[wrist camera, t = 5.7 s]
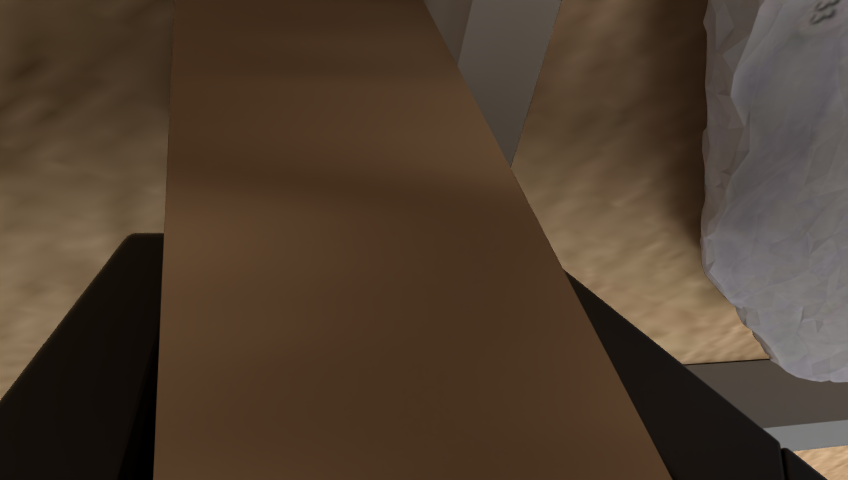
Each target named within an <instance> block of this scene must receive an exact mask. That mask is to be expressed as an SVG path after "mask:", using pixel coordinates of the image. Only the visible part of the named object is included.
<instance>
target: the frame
mask: <svg viewBox="0 0 848 480" xmlns="http://www.w3.org/2000/svg"><path fill="white" fill-rule="evenodd" d="M685 367H686V368H688V369H689V370H690V371H691V372H693V373H694V374H695V375H696V376H698V377H699V378H700V379H701V380H703V381H704V382H705V383H706V384H708V385H709V386H710V387H712V388H713V389H714V390H715V391H717V392H718V393H719V394H720V395H722V396H723V397H724V398H725V399H727V400H728V401H729V402H730V403H732V404H733V405H734V406H735V407H737V408H738V409H739V410H740V411H742V412H743V413H744V414H745V415H747V416H748V417H749V418H750V419H752V420H753V421H754V422H755V423H757V424H758V425H759V426H760V427H762V428H763V429H764V430H765V431H767V432H768V433H769V434H770V435H772V436H773V437H774V438H775V439H777V440H778V441H779V442H780V445H781V448H788V449H790V450H791V451H800V450H809V449H818V448H827V447H836V446H845V445H848V382H832V381H830V380H828V381H823V382H819V381H812V380H807V379H803V378H798V377H796V376H794V375H792V374H790V373H788V372H786V371H785V370H784V369H783V368H782V367H780V366H779V365H778V364H776V363H774V362H773V361H772V362H771V360H760V361H745V362H731V363H716V364H701V365H687V366H685Z"/></svg>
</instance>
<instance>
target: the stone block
mask: <svg viewBox="0 0 848 480" xmlns="http://www.w3.org/2000/svg"><path fill="white" fill-rule="evenodd" d="M703 24H704V27H705V29H706V31H707V66H706V76H705V91H706V99H707V127H706V128H705V130H704V131H703V137H702V145H703V147H702V153H703V159H704V164H705V175H704V187H705V197H706V198H705V204H704V207H703V210H702V216H701V239H700V245H701V262H702V266H703V269H704V273H705V274H706V276H707V277H708V278H709V279H710V280H711V282H712V283H713V284H714V285H715V286H716V287H717V289H718V290H719V291H720V292H721V293H722V294H723V295H724V296H725V297H726V298H727V299H728V301H729V302H730V303H731V304H732V305H734V306H735V308H736V311H737V314H738V316H739V317H740V319H741V321H742V323H743V324H744V325H745V326H746V327H748V328H749V329H751V330H752V332H753V336H754V337H755V338H756V340H757V341H758V342H760V344H761V346H762V348H763V349H764V351H765V353H766V354H767V355H769V358H770V360H771V362H772V361H773V362H774V363H776V364H778V365H779V366H780V367H782V368H783V369H784V370H785V371H786V372H788V373H790V374H792V375H794V376H796V377H798V378H803V379H807V380H812V381H819V382H823V381H828V380H830V381H832V382H848V0H708V4H707V10H706V14H705V18H704V21H703Z"/></svg>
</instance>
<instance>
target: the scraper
mask: <svg viewBox="0 0 848 480" xmlns="http://www.w3.org/2000/svg"><path fill="white" fill-rule="evenodd" d="M561 1H562V0H174V23H173V45H172V68H171V91H170V113H169V136H168V158H167V181H166V204H165V226H164V249H163V271H162V294H161V317H160V339H159V362H158V384H157V407H156V430H155V452H154V475H153V480H672V478H671V476H670V474H669V472H668V470H667V468H666V466H665V465H664V463H663V461H662V459H661V457H660V455H659V453H658V451H657V449H656V447H655V445H654V443H653V441H652V440H651V438H650V436H649V434H648V432H647V430H646V428H645V426H644V424H643V422H642V420H641V418H640V416H639V415H638V413H637V411H636V409H635V407H634V405H633V403H632V401H631V399H630V397H629V395H628V393H627V391H626V390H625V388H624V386H623V384H622V382H621V380H620V378H619V376H618V374H617V372H616V370H615V368H614V366H613V364H612V363H611V361H610V359H609V357H608V355H607V353H606V351H605V349H604V347H603V345H602V343H601V341H600V339H599V338H598V336H597V334H596V332H595V330H594V328H593V326H592V324H591V322H590V320H589V318H588V316H587V314H586V313H585V311H584V309H583V307H582V305H581V303H580V301H579V299H578V297H577V295H576V293H575V291H574V289H573V288H572V286H571V284H570V282H569V280H568V278H567V276H566V274H565V272H564V270H563V268H562V266H561V264H560V263H559V261H558V259H557V257H556V255H555V253H554V251H553V249H552V247H551V245H550V243H549V241H548V239H547V237H546V236H545V234H544V232H543V230H542V228H541V226H540V224H539V222H538V220H537V218H536V216H535V214H534V212H533V211H532V209H531V207H530V205H529V203H528V201H527V199H526V197H525V195H524V193H523V191H522V189H521V187H520V186H519V184H518V182H517V180H516V178H515V176H514V174H513V172H512V170H511V165H512V162H513V158H514V155H515V152H516V149H517V145H518V142H519V139H520V135H521V132H522V129H523V126H524V122H525V119H526V116H527V112H528V109H529V106H530V103H531V99H532V96H533V93H534V90H535V86H536V83H537V80H538V76H539V73H540V70H541V67H542V63H543V60H544V57H545V54H546V50H547V47H548V44H549V40H550V37H551V34H552V31H553V27H554V24H555V21H556V17H557V14H558V11H559V8H560V4H561Z"/></svg>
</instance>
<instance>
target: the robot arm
mask: <svg viewBox="0 0 848 480" xmlns="http://www.w3.org/2000/svg"><path fill="white" fill-rule="evenodd" d="M163 249H164V233H133V234H130V235H128V236H127V237H126V238H125V239H124V240H123V242H122V243H121V244H120V246H119V247H118V248H117V250H116V251H115V252H114V253H113V255H112V256H111V257H110V259H109V260H108V261H107V263H106V264H105V265H104V266H103V268H102V269H101V270H100V272H99V273H98V274H97V276H96V277H95V278H94V279H93V281H92V282H91V283H90V285H89V286H88V287H87V289H86V290H85V291H84V292H83V294H82V295H81V296H80V298H79V299H78V300H77V302H76V303H75V304H74V305H73V307H72V308H71V309H70V311H69V312H68V313H67V315H66V316H65V317H64V318H63V320H62V321H61V322H60V324H59V325H58V326H57V328H56V329H55V330H54V331H53V333H52V334H51V335H50V337H49V338H48V339H47V341H46V342H45V343H44V344H43V346H42V347H41V348H40V350H39V351H38V352H37V354H36V355H35V356H34V357H33V359H32V360H31V361H30V363H29V364H28V365H27V367H26V368H25V369H24V370H23V372H22V373H21V374H20V376H19V377H18V378H17V380H16V381H15V382H14V383H13V385H12V386H11V387H10V389H9V390H8V391H7V393H6V394H5V395H4V396H3V398H2V399H1V400H0V480H153V475H154V452H155V430H156V407H157V384H158V362H159V339H160V317H161V294H162V271H163ZM563 270H564V269H563ZM564 272H565V274H566V276H567V278H568V280H569V282H570V284H571V286H572V288H573V289H574V291H575V293H576V295H577V297H578V299H579V301H580V303H581V305H582V307H583V309H584V311H585V313H586V314H587V316H588V318H589V320H590V322H591V324H592V326H593V328H594V330H595V332H596V334H597V336H598V338H599V339H600V341H601V343H602V345H603V347H604V349H605V351H606V353H607V355H608V357H609V359H610V361H611V363H612V364H613V366H614V368H615V370H616V372H617V374H618V376H619V378H620V380H621V382H622V384H623V386H624V388H625V390H626V391H627V393H628V395H629V397H630V399H631V401H632V403H633V405H634V407H635V409H636V411H637V413H638V415H639V416H640V418H641V420H642V422H643V424H644V426H645V428H646V430H647V432H648V434H649V436H650V438H651V440H652V441H653V443H654V445H655V447H656V449H657V451H658V453H659V455H660V457H661V459H662V461H663V463H664V465H665V466H666V468H667V470H668V472H669V474H670V476H671V478H672V480H827V479H826V478H825V477H823V476H822V475H821V474H820V473H818V472H817V471H816V470H815V469H813V468H812V467H811V466H810V465H808V464H807V463H806V462H805V461H803V460H802V459H801V458H800V457H798V456H797V455H796V454H795V453H793V452H792V451H791V450H790V449H788V448H781V445H780V442H779V441H778V440H777V439H775V438H774V437H773V436H772V435H770V434H769V433H768V432H767V431H765V430H764V429H763V428H762V427H760V426H759V425H758V424H757V423H755V422H754V421H753V420H752V419H750V418H749V417H748V416H747V415H745V414H744V413H743V412H742V411H740V410H739V409H738V408H737V407H735V406H734V405H733V404H732V403H730V402H729V401H728V400H727V399H725V398H724V397H723V396H722V395H720V394H719V393H718V392H717V391H715V390H714V389H713V388H712V387H710V386H709V385H708V384H706V383H705V382H704V381H703V380H701V379H700V378H699V377H698V376H696V375H695V374H694V373H693V372H691V371H690V370H689V369H688V368H686V367H685V366H684V365H683V364H681V363H680V362H679V361H678V360H676V359H675V358H674V357H673V356H671V355H670V354H669V353H668V352H666V351H665V350H664V349H663V348H661V347H660V346H659V345H658V344H656V343H655V342H654V341H653V340H651V339H650V338H649V337H648V336H646V335H645V334H644V333H643V332H641V331H640V330H639V329H638V328H636V327H635V326H634V325H633V324H631V323H630V322H629V321H628V320H626V319H625V318H624V317H623V316H621V315H620V314H619V313H618V312H616V311H615V310H614V309H613V308H611V307H610V306H609V305H608V304H606V303H605V302H604V301H603V300H601V299H600V298H599V297H597V296H596V295H595V294H594V293H592V292H591V291H590V290H589V289H587V288H586V287H585V286H584V285H582V284H581V283H580V282H579V281H577V280H576V279H575V278H574V277H572V276H571V275H570V274H569V273H567V272H566V271H565V270H564Z"/></svg>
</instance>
